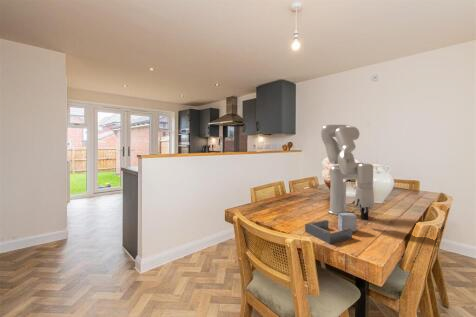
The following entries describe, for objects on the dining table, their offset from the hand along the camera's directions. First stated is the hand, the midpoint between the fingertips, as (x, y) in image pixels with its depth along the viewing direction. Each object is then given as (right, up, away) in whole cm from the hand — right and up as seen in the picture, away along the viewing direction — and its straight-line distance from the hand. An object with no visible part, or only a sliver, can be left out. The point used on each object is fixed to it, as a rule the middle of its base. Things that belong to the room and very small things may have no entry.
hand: (364, 219), depth 124 cm
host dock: (-24, -5, -11) cm, 27 cm away
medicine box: (-12, -5, -4) cm, 14 cm away
